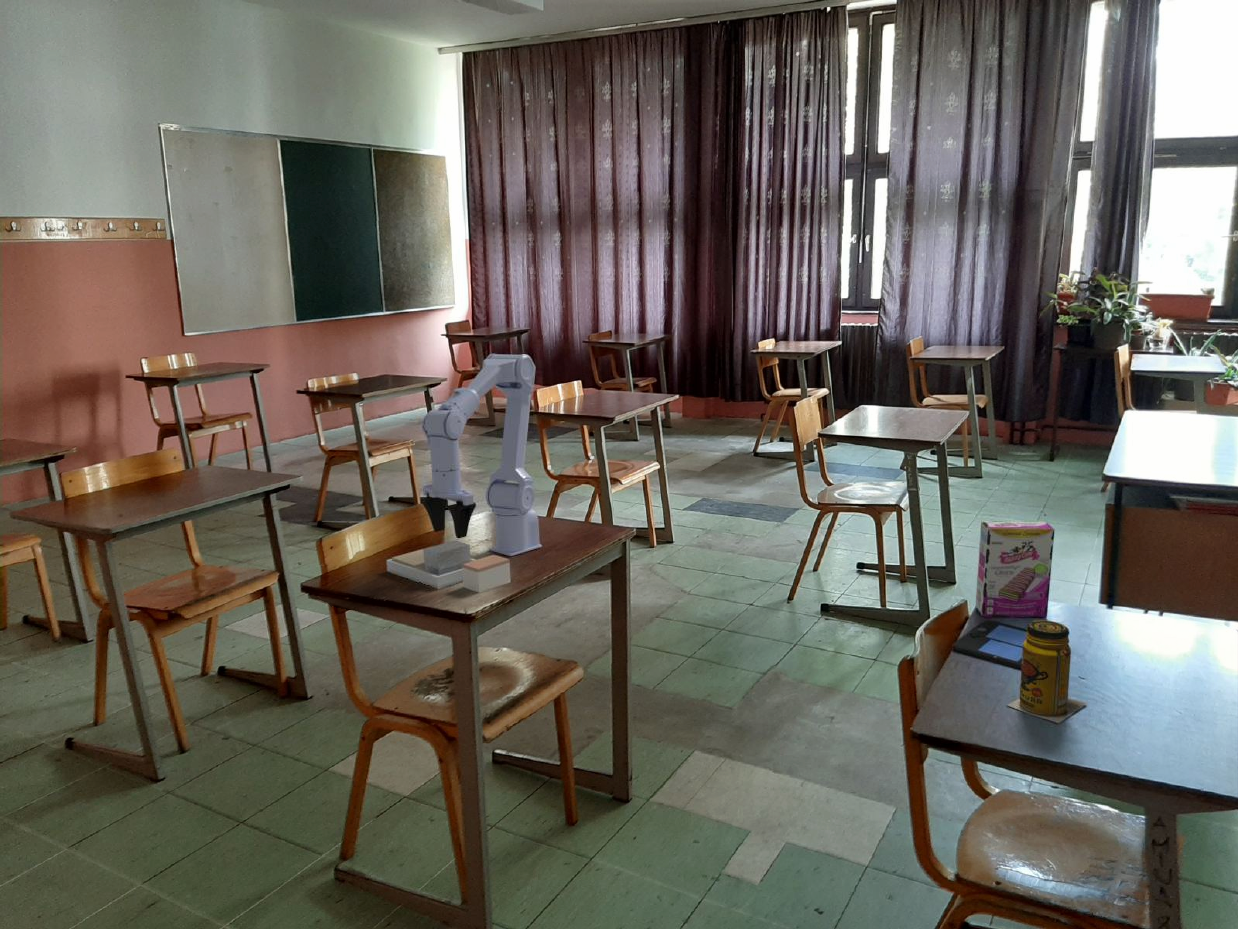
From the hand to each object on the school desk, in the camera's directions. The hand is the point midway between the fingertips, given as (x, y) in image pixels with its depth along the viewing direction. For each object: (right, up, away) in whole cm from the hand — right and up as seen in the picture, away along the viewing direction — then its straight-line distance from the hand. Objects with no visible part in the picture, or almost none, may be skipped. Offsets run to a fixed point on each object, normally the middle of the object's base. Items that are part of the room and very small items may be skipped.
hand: (450, 534), depth 189 cm
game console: (+97, -16, -41) cm, 107 cm away
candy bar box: (+104, -12, -26) cm, 108 cm away
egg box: (+8, -10, -3) cm, 13 cm away
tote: (-4, -9, +5) cm, 11 cm away
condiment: (+94, -20, -60) cm, 113 cm away
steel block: (-1, -9, +2) cm, 9 cm away
